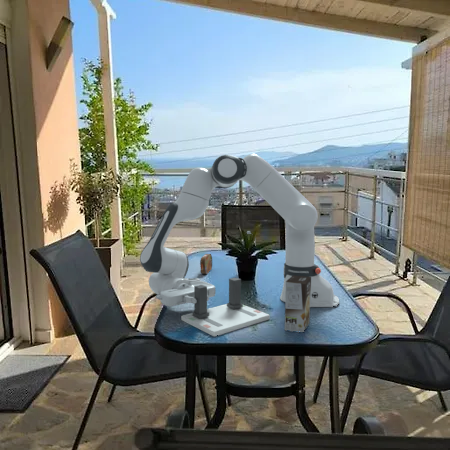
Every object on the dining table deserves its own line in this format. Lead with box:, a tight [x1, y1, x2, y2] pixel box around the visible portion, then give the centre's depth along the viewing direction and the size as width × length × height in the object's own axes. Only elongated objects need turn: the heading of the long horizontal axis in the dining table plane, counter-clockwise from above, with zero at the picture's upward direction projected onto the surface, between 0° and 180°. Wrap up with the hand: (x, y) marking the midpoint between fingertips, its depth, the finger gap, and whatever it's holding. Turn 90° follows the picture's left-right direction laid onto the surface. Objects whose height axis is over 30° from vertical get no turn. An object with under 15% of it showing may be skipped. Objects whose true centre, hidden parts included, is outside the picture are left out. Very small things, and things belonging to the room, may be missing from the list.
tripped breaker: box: [191, 285, 209, 319], centre depth 142 cm, size 4×4×10 cm
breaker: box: [226, 277, 244, 309], centre depth 152 cm, size 4×4×10 cm
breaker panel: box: [180, 303, 271, 338], centre depth 145 cm, size 18×24×2 cm
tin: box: [199, 253, 213, 275], centre depth 209 cm, size 15×3×8 cm, turn 168°
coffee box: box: [284, 275, 311, 333], centre depth 138 cm, size 9×6×16 cm
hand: (201, 299), depth 142 cm, fingers closed on tripped breaker, 3 cm apart
